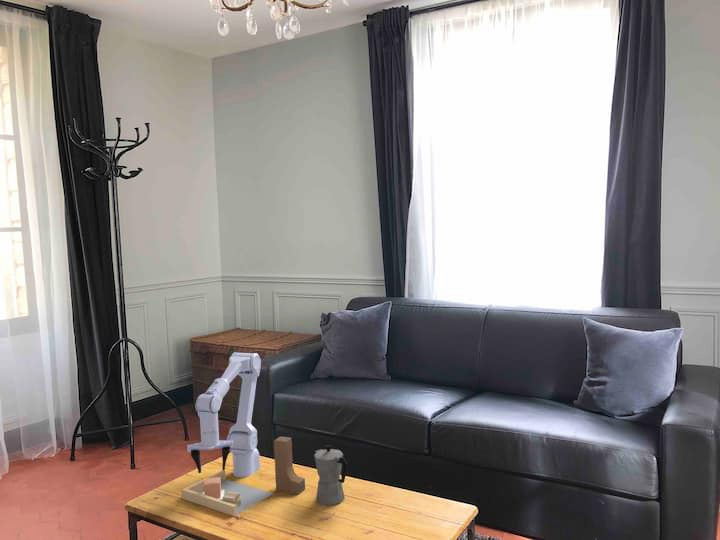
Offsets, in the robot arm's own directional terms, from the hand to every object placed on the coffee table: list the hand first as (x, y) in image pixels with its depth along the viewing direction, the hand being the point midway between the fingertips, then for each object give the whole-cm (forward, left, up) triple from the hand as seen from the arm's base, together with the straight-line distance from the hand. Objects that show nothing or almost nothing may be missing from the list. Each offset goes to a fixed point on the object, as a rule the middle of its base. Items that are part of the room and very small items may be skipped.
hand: (211, 470), depth 195 cm
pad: (0, 0, -9) cm, 9 cm away
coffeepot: (-18, +36, -10) cm, 41 cm away
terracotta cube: (0, 0, -8) cm, 8 cm away
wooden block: (-16, +20, -10) cm, 27 cm away
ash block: (+3, +12, -9) cm, 15 cm away
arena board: (-2, +5, -9) cm, 11 cm away
